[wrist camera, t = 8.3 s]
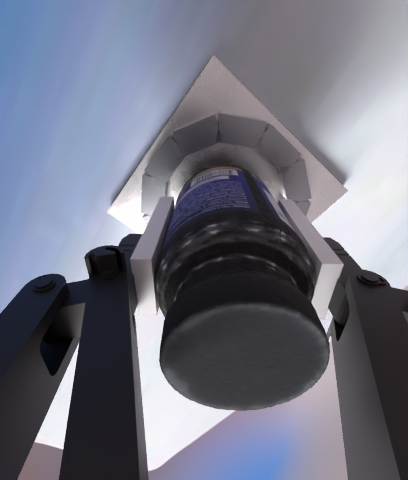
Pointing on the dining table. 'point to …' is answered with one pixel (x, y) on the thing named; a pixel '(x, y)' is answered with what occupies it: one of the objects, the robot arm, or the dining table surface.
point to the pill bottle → (237, 297)
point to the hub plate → (225, 151)
